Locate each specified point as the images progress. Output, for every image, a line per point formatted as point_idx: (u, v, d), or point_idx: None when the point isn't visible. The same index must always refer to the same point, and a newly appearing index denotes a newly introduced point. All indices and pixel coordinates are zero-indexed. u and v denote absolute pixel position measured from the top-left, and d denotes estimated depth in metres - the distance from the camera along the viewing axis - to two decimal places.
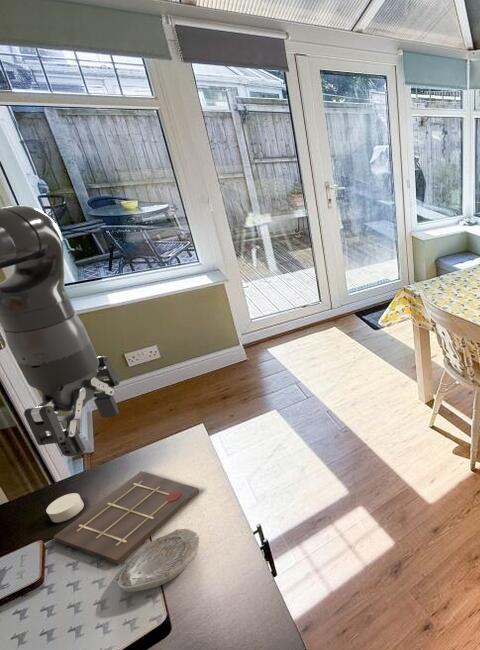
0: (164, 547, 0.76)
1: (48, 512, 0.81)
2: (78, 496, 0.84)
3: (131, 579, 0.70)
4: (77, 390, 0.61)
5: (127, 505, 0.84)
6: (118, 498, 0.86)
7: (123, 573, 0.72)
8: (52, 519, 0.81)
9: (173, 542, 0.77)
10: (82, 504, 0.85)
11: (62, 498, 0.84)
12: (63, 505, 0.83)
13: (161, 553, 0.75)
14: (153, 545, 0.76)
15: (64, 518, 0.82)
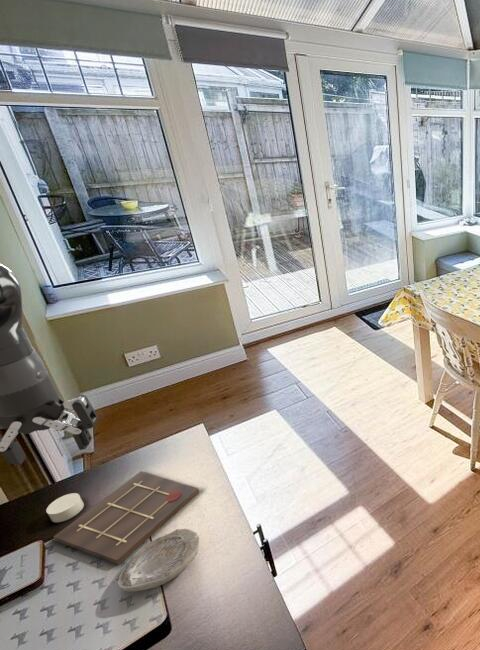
0: (164, 547, 0.76)
1: (48, 512, 0.81)
2: (78, 496, 0.84)
3: (131, 579, 0.70)
4: (14, 421, 0.68)
5: (127, 505, 0.84)
6: (118, 498, 0.86)
7: (123, 573, 0.72)
8: (52, 519, 0.81)
9: (173, 542, 0.77)
10: (82, 504, 0.85)
11: (62, 498, 0.84)
12: (63, 505, 0.83)
13: (161, 553, 0.75)
14: (153, 545, 0.76)
15: (64, 518, 0.82)
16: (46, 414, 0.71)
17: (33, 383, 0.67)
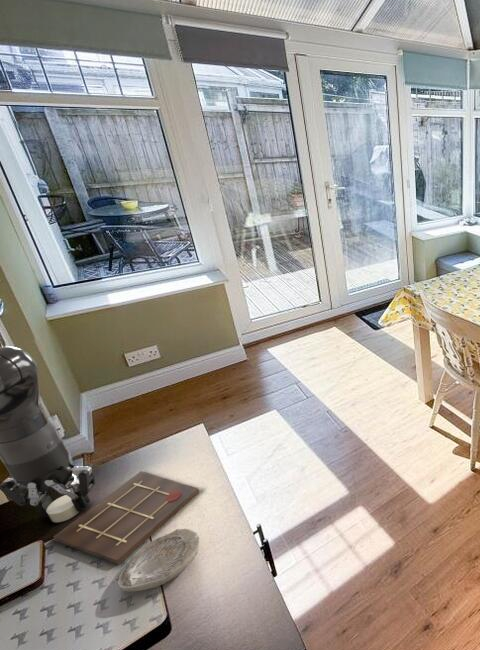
0: (164, 547, 0.76)
1: (48, 512, 0.81)
2: None
3: (131, 579, 0.70)
4: (30, 481, 0.78)
5: (127, 505, 0.84)
6: (118, 498, 0.86)
7: (123, 573, 0.72)
8: (52, 519, 0.81)
9: (173, 542, 0.77)
10: None
11: (62, 498, 0.84)
12: (63, 505, 0.83)
13: (161, 553, 0.75)
14: (153, 545, 0.76)
15: (64, 518, 0.82)
16: (56, 477, 0.79)
17: (43, 453, 0.76)
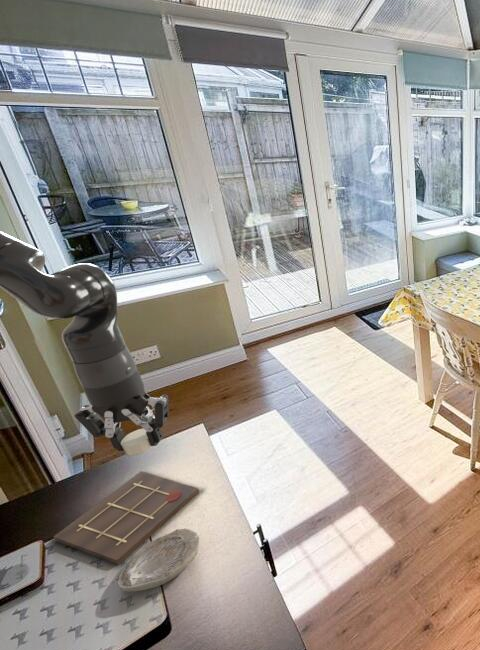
0: (164, 547, 0.76)
1: (123, 445, 0.78)
2: None
3: (131, 579, 0.70)
4: (107, 410, 0.75)
5: (127, 505, 0.84)
6: (118, 498, 0.86)
7: (123, 573, 0.72)
8: (127, 452, 0.78)
9: (173, 542, 0.77)
10: None
11: (135, 432, 0.81)
12: (137, 438, 0.79)
13: (161, 553, 0.75)
14: (153, 545, 0.76)
15: (139, 451, 0.79)
16: (133, 406, 0.76)
17: (122, 378, 0.73)
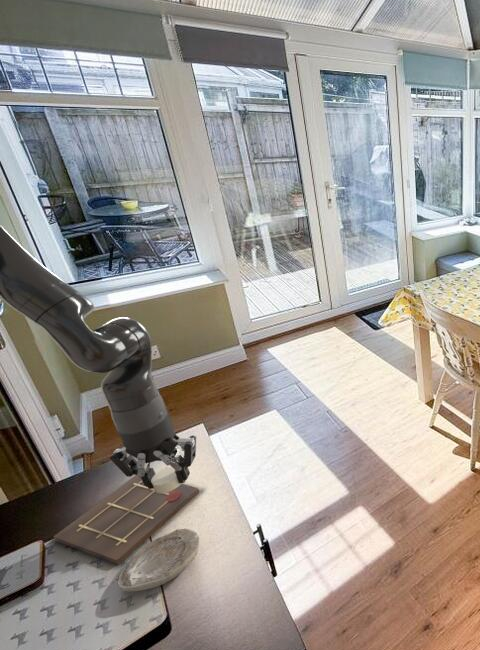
0: (164, 547, 0.76)
1: (153, 483, 0.82)
2: None
3: (131, 579, 0.70)
4: (140, 452, 0.79)
5: (127, 505, 0.84)
6: (118, 498, 0.86)
7: (123, 573, 0.72)
8: (157, 490, 0.83)
9: (173, 542, 0.77)
10: None
11: (164, 470, 0.85)
12: (167, 477, 0.84)
13: (161, 553, 0.75)
14: (153, 545, 0.76)
15: (168, 489, 0.83)
16: (164, 448, 0.81)
17: (155, 423, 0.77)
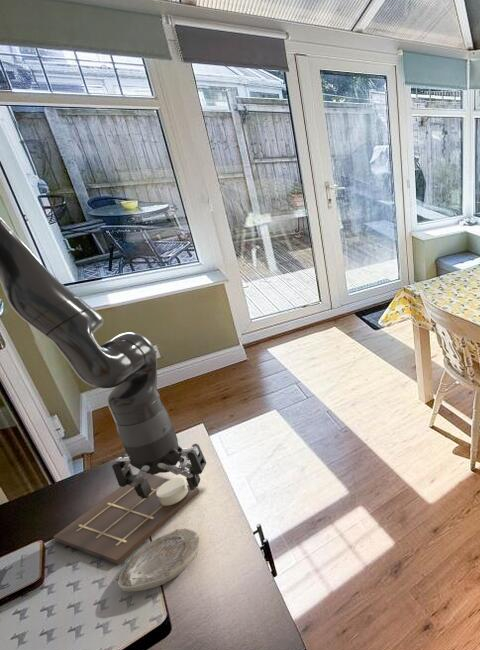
0: (164, 547, 0.76)
1: (159, 495, 0.84)
2: (183, 481, 0.87)
3: (131, 579, 0.70)
4: (144, 464, 0.80)
5: (127, 505, 0.84)
6: (118, 498, 0.86)
7: (123, 573, 0.72)
8: (162, 502, 0.84)
9: (173, 542, 0.77)
10: (187, 488, 0.88)
11: (168, 482, 0.87)
12: (171, 489, 0.85)
13: (161, 553, 0.75)
14: (153, 545, 0.76)
15: (173, 501, 0.85)
16: (168, 460, 0.82)
17: (160, 436, 0.78)
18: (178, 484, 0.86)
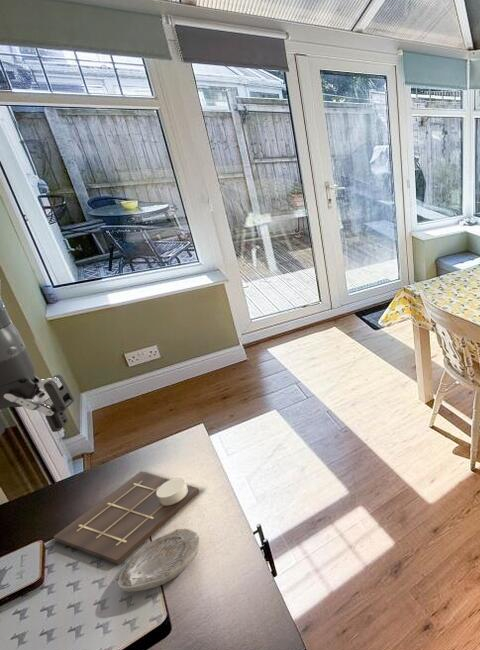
0: (164, 547, 0.76)
1: (159, 495, 0.84)
2: (183, 481, 0.87)
3: (131, 579, 0.70)
4: None
5: (127, 505, 0.84)
6: (118, 498, 0.86)
7: (123, 573, 0.72)
8: (162, 502, 0.84)
9: (173, 542, 0.77)
10: (187, 488, 0.88)
11: (168, 482, 0.87)
12: (171, 489, 0.85)
13: (161, 553, 0.75)
14: (153, 545, 0.76)
15: (173, 501, 0.85)
16: (19, 391, 0.68)
17: (3, 359, 0.64)
18: (178, 484, 0.86)
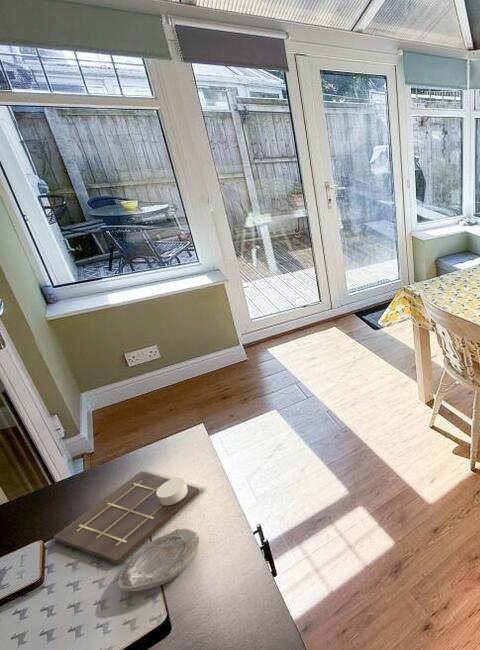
0: (164, 547, 0.76)
1: (159, 495, 0.84)
2: (183, 481, 0.87)
3: (131, 579, 0.70)
4: None
5: (127, 505, 0.84)
6: (118, 498, 0.86)
7: (123, 573, 0.72)
8: (162, 502, 0.84)
9: (173, 542, 0.77)
10: (187, 488, 0.88)
11: (168, 482, 0.87)
12: (171, 489, 0.85)
13: (161, 553, 0.75)
14: (153, 545, 0.76)
15: (173, 501, 0.85)
16: None
17: None
18: (178, 484, 0.86)
